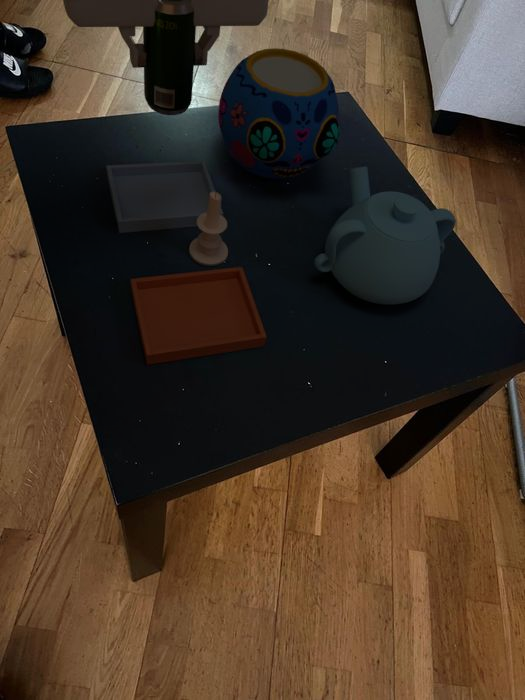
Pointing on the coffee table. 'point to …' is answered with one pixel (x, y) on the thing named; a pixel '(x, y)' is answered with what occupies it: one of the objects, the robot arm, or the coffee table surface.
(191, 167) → the gray tray
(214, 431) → the coffee table surface
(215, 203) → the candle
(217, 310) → the terracotta tray
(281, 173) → the ceramic pot
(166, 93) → the beer can
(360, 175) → the teapot
